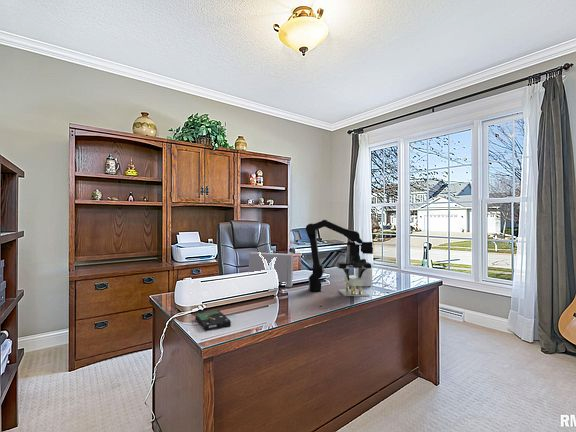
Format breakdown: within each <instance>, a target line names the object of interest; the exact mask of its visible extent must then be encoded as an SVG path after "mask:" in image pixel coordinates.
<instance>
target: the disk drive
mask: <svg viewBox="0 0 576 432" xmlns="http://www.w3.org/2000/svg"><path fill="white" fill-rule="evenodd" d="M195 321H196V322H197V323H198V324H199V326H200V327H201V328H202V330H204V331H205V332H207V331H212V330H218V329H224V328H229V327H231V326H232V325H231V324H232V321H231V319H230V318H229V317H227V315H225V314H224V313H223V312H222V311H220V310H214V311H213V310H211V311H207V312H203V313H196V314H195Z"/></svg>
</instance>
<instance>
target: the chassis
mask: <svg viewBox="0 0 576 432" xmlns="http://www.w3.org/2000/svg"><path fill="white" fill-rule="evenodd" d="M338 292H339V293H340V294H341V293H342V294H343V297H345V296H356V297H370V293H368V292H367V291H365V290H364V289H363V286H358V289H357V286H352V285H350V284H348V283H347V282H345V288H342V289H339V288H338ZM342 294H341V295H342Z"/></svg>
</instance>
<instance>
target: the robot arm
mask: <svg viewBox="0 0 576 432" xmlns="http://www.w3.org/2000/svg"><path fill="white" fill-rule="evenodd" d="M321 228H327V229H329V230H331V231H334V232H336V233H338V234H340V235H343V236H344V237H345V238H347V239H348V241H347V242H346V244H345V245H346V246H349V247H348V250H349V251H348V261H347V263H346V262H344V261H343V262H342V261H338V262H337V263H336V268H338V269H340V270H341V269H342V270H343V272H344V273H345V274H344V275H346V277H347V280H348V281H349V275H350V268H354V269H357V268H358V277H359V278H361V276H362V274H363V272H364V271H365V270H367V269H371V268H372V264H371V263H370V262H367V259H366V258H362V259H361V254H360V252H361V253H362V254H364V255H373V254H374V248H373V247H374V246H373V245H374V244H373V241H363V239H361V237H360V233H359V232H358V231H356V230H352V229H347V228H345V227H343V226H340V225H338V224H336V223H334V222H331V221H328V220H327V219H322V220H321V221H318V222H315V223H314V222H313V223H312V222H311V223H308V224H307V225H306V226H305V232H306V235H307V236H308V239H309V244H310V250H311V257H312V273H311V275H310V276H308V292H311V293H313V292H314V293H315V292H316V293H317V292H318V293H319V292H322V282H321V280H320V279H321V278H322V277H323V275H324V273H325V267H324V264H323V263H321V259H320V254H319V253H320V252H319V246H318V240H317V236H318V230H319V229H321Z"/></svg>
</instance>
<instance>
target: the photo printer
mask: <svg viewBox="0 0 576 432" xmlns="http://www.w3.org/2000/svg"><path fill="white" fill-rule="evenodd" d="M355 269H356V270H355V276H357V277H358V268H355ZM361 279H363V286H362V287H368V286H373V270H372V267H371V269H367V270H365V271H364V272H363V274H362V276H361Z"/></svg>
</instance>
